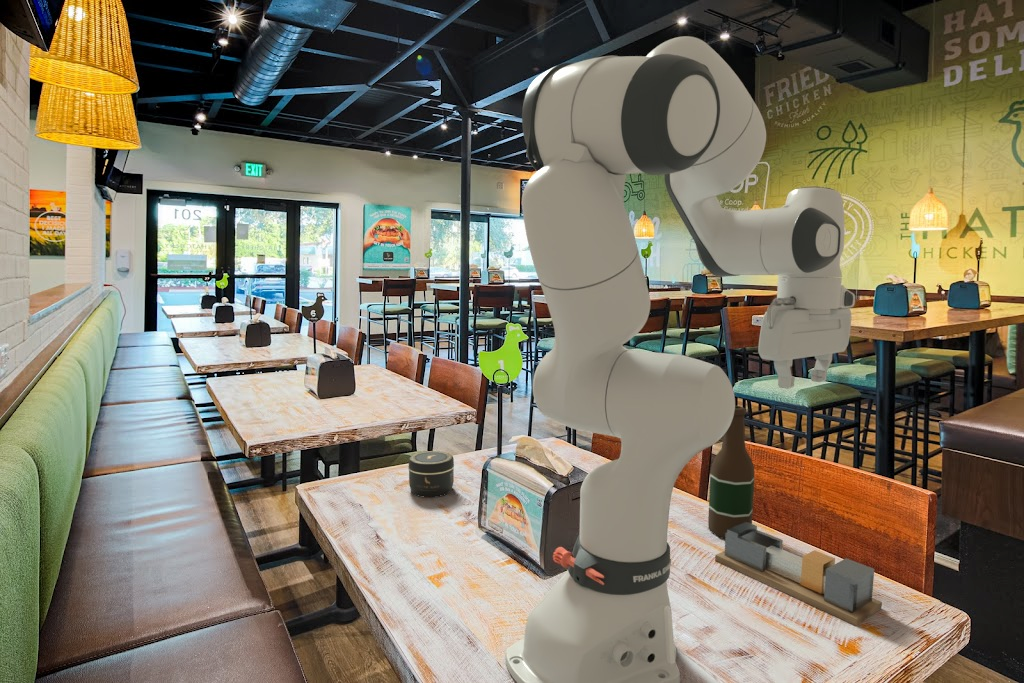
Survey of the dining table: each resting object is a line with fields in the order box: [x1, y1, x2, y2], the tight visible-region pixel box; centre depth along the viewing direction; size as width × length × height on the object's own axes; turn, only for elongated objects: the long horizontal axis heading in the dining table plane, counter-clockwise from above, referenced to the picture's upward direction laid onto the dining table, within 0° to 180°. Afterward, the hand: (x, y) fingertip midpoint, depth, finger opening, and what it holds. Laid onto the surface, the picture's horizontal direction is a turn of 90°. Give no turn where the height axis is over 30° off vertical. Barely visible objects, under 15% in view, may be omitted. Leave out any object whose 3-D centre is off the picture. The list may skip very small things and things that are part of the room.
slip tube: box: [765, 546, 836, 594], centre depth 93 cm, size 3×14×5 cm, turn 35°
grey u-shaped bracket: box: [724, 522, 784, 572], centre depth 101 cm, size 5×7×5 cm
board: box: [714, 550, 883, 626], centre depth 95 cm, size 8×23×1 cm, turn 35°
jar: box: [407, 450, 455, 498], centre depth 134 cm, size 10×10×8 cm
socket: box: [824, 557, 875, 613], centre depth 88 cm, size 6×4×5 cm
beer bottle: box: [707, 405, 755, 539], centre depth 112 cm, size 8×8×24 cm
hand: (802, 384), depth 95 cm, fingers open, 8 cm apart
